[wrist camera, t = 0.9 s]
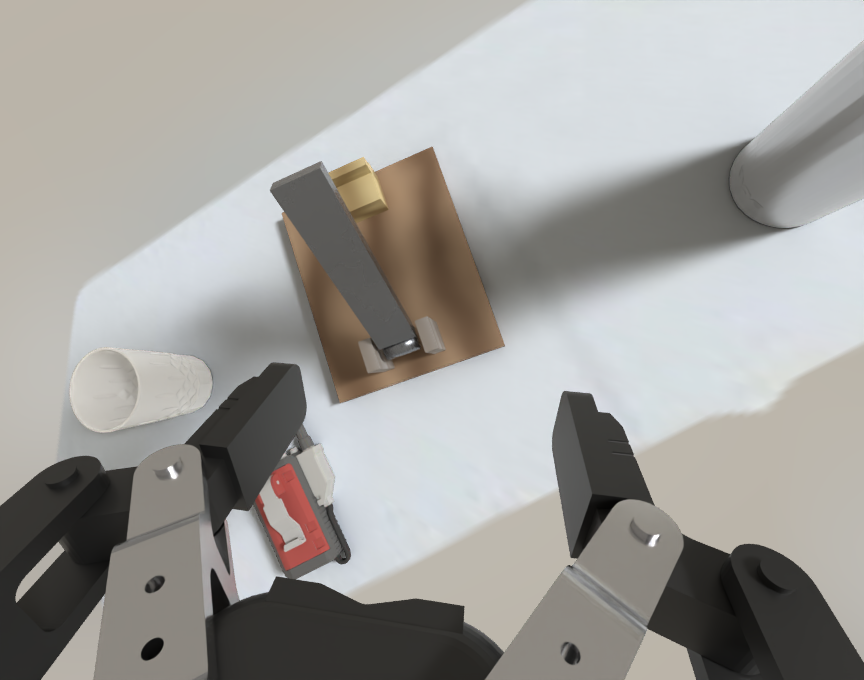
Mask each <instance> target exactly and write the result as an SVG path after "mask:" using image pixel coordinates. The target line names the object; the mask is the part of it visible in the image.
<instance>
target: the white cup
mask: <svg viewBox="0 0 864 680" xmlns="http://www.w3.org/2000/svg"><path fill="white" fill-rule="evenodd" d="M212 386H213V381H212V376H211V371H210V370H209V368H208V367H207V366H206V364H205V363H204V361H202V360H200V359H198V358H196V357H194V356H188V355H176V354H171V353H164V352H155V351H146V350H133V349H121V348H109V347H104V348H99V349H96V350H93V351H91V352H90V353H88V354H87V355H86V356H84V357H83V358H82V359H81V360H80V362H79V363H78V364H77V366H76V368H75V370H74V372H73V374H72V377H71V381H70V388H69V396H70V403H71V407H72V410H73V412H74V414H75V416H76V417H77V419H78V420H79V421H80V423H81V424H83V425H84V426H85V427H86V428H88V429H90V430H92V431H95V432H99V433H107V432H112V431H117V430H121V429H126V428H130V427H135V426H140V425H144V424H149V423H153V422H157V421H161V420H166V419H170V418H173V417H176V416H179V415H184V414H189V413H193V412H195V411H197V410H198V409H200V408H202V407H203V406H204V405H205V403H206V402H207V401H208V399H209V398H210V396H211V391H212Z"/></svg>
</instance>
